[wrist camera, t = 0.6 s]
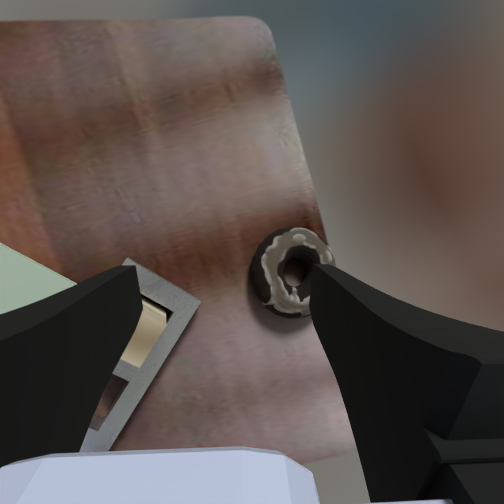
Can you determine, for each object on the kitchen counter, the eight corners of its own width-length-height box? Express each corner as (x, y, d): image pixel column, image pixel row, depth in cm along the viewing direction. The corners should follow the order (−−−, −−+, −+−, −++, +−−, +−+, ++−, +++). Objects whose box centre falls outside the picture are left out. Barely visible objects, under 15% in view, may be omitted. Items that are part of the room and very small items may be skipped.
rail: (106, 446, 28) (101, 462, 26) (20, 412, 26) (6, 427, 24) (198, 298, 32) (201, 301, 30) (130, 258, 30) (127, 257, 28)
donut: (237, 239, 34) (246, 235, 30) (315, 221, 38) (332, 216, 34) (258, 326, 35) (269, 334, 31) (333, 300, 38) (351, 305, 34)
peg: (145, 341, 30) (139, 367, 23) (112, 324, 29) (94, 346, 22) (165, 310, 31) (166, 325, 23) (134, 292, 30) (124, 302, 22)
